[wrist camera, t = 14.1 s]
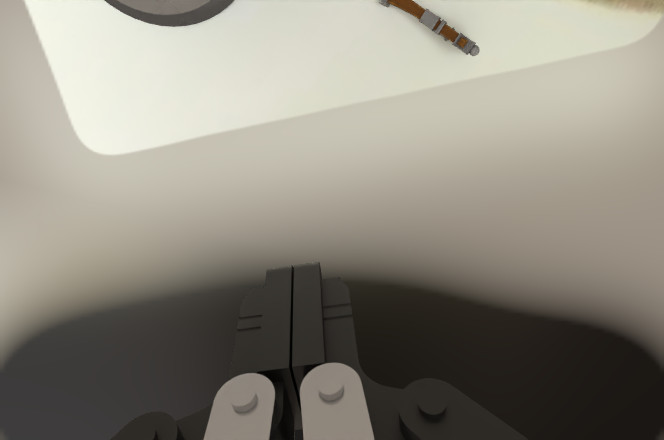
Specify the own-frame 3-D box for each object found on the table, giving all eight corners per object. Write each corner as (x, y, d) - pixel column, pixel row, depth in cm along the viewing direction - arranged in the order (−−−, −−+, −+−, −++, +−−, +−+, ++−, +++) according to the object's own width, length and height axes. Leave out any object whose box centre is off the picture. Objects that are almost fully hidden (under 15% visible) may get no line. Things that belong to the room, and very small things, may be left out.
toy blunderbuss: (470, 64, 36) (470, 64, 31) (389, 9, 36) (378, 2, 32) (485, 43, 35) (486, 41, 31) (402, -13, 35) (393, -23, 31)
